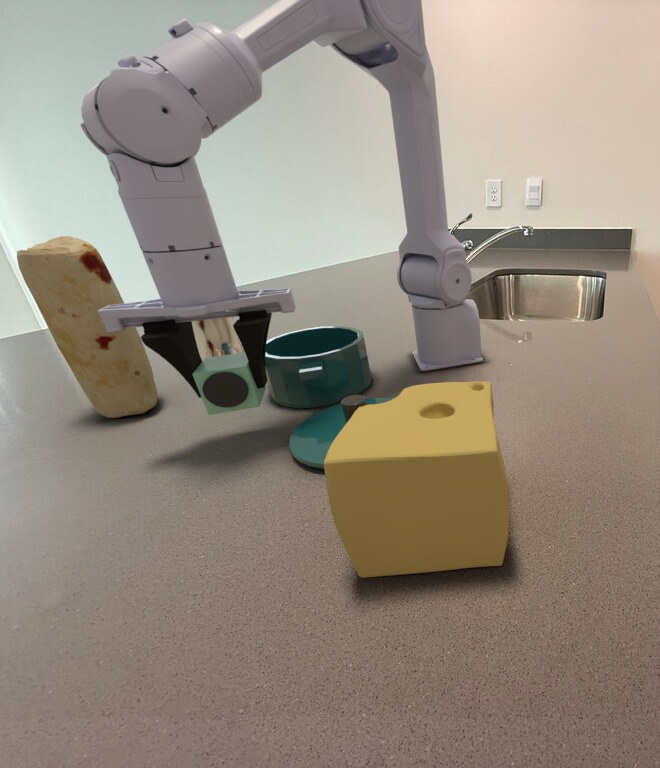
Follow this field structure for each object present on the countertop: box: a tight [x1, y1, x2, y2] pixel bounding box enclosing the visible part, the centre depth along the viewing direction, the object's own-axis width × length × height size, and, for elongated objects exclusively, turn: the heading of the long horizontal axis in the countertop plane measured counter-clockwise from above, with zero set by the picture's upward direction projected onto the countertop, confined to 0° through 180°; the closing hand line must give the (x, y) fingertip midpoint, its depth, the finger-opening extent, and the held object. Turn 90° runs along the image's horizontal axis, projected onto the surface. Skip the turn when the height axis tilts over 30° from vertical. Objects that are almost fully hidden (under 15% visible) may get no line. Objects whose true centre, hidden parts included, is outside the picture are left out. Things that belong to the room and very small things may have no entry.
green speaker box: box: [192, 353, 267, 416], centre depth 41 cm, size 5×4×4 cm
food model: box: [16, 235, 159, 419], centre depth 46 cm, size 10×7×20 cm
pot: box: [265, 325, 372, 409], centre depth 54 cm, size 12×18×6 cm
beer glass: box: [192, 310, 245, 361], centre depth 61 cm, size 7×7×15 cm
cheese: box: [323, 381, 510, 579], centre depth 30 cm, size 10×11×10 cm
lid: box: [288, 394, 394, 469], centre depth 43 cm, size 13×13×4 cm
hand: (234, 388), depth 41 cm, fingers closed on green speaker box, 4 cm apart
